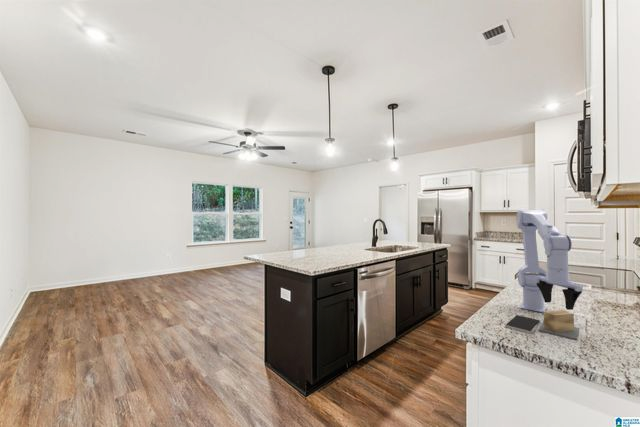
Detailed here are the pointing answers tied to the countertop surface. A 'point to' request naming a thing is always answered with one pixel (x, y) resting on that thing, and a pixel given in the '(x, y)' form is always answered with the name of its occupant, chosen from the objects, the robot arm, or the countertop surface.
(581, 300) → the countertop surface
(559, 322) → the oak slab
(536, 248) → the robot arm
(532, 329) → the smartphone
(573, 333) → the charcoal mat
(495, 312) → the countertop surface
